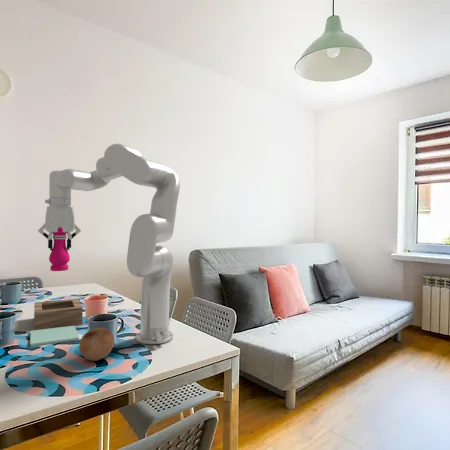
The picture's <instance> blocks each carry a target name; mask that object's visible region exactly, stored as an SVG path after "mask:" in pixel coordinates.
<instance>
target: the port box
mask: <svg viewBox="0 0 450 450" xmlns="http://www.w3.org/2000/svg"><path fill="white" fill-rule="evenodd" d="M33 303H34V307H33V309H34V311H33V321H34V322H33V330H42V329H50V328H59V327H67V326H79V325H83V313H84V312H83V310H84V309H83V306H82V303H81V302H80V300H79V298H74V299H62V300H49V301H38V302H36V301H35V302H33Z"/></svg>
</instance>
